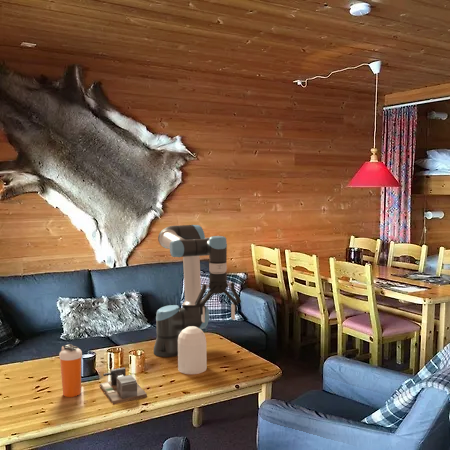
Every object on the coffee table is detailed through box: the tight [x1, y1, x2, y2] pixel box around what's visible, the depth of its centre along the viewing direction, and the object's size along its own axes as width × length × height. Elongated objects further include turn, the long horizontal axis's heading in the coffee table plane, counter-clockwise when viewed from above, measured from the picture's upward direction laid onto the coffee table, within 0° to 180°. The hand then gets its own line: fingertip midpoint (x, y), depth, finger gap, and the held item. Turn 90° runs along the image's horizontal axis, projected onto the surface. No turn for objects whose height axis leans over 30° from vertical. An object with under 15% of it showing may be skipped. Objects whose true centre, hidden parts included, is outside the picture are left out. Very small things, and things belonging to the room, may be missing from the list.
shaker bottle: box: [58, 343, 83, 398], centre depth 208 cm, size 9×9×20 cm
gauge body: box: [99, 374, 148, 405], centre depth 210 cm, size 20×14×7 cm
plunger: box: [102, 367, 127, 385], centre depth 211 cm, size 9×9×6 cm
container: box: [177, 326, 208, 375], centre depth 235 cm, size 13×13×20 cm
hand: (218, 320), depth 220 cm, fingers open, 13 cm apart
